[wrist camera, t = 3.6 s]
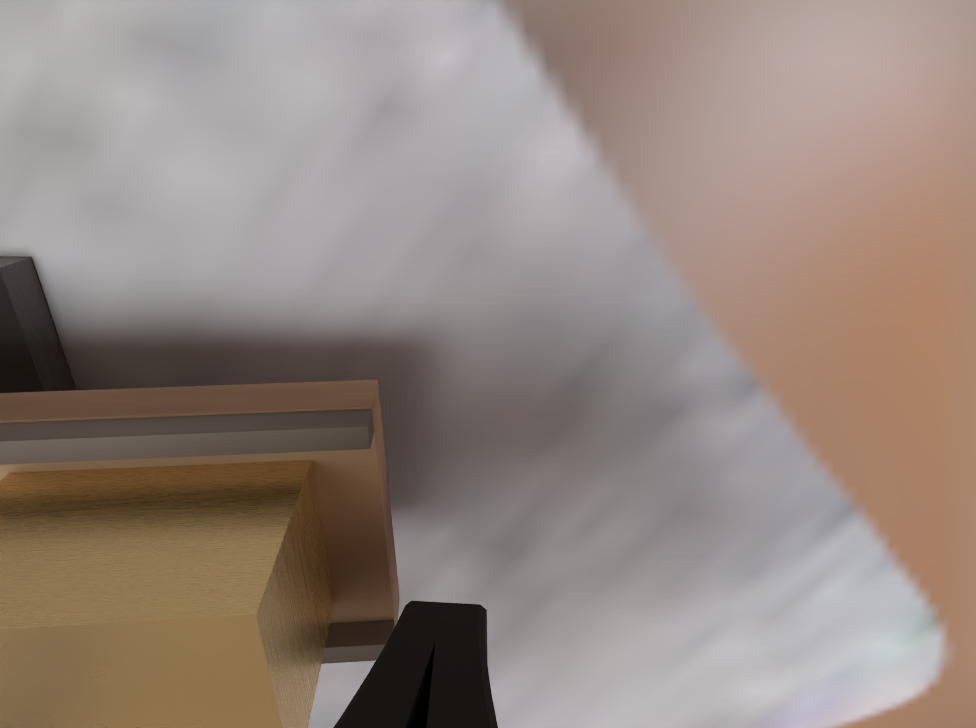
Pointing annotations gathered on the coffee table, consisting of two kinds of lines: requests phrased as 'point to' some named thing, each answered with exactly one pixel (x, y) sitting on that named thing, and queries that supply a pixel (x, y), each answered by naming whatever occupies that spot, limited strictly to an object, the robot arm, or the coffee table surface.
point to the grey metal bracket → (28, 334)
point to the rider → (162, 597)
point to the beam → (242, 439)
